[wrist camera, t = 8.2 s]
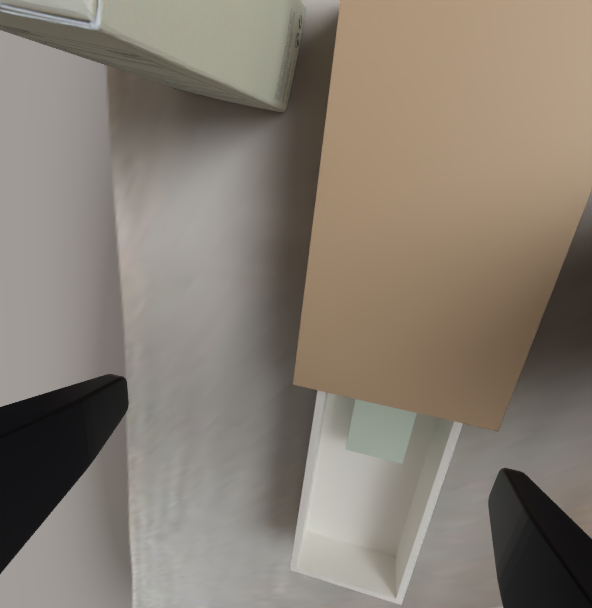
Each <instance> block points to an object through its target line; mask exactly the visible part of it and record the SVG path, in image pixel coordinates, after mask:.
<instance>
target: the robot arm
mask: <svg viewBox="0 0 592 608" xmlns="http://www.w3.org/2000/svg"><path fill="white" fill-rule="evenodd" d="M128 403H129V402H128V389H127V381H126V379H125V378H124V377H122V376H118V375H114V374H108V375H104V376H100V377H97V378H94V379H91V380H87V381H84V382H81V383H78V384H74V385H71V386H68V387H64V388H61V389H58V390H55V391H51V392H48V393H45V394H42V395H39V396H35V397H32V398H29V399H25V400H22V401H19V402H15V403H12V404H9V405H6V406H3V407H0V574H1V572H2V571H3V570H4V569H5V568H6V566H7V565H8V564H9V563H10V562H11V560H12V559H13V558H14V557H15V555H16V554H17V553H18V552H19V551H20V549H21V548H22V547H23V546H24V544H25V543H26V542H27V541H28V540H29V539H30V537H31V536H32V535H33V534H34V533H35V531H36V530H37V529H38V528H39V527H40V525H41V524H42V523H43V522H44V520H45V519H46V518H47V517H48V516H49V514H50V513H51V512H52V511H53V509H54V508H55V507H56V506H57V505H58V503H59V502H60V501H61V500H62V499H63V498H64V496H65V495H66V494H67V493H68V491H69V490H70V489H71V488H72V487H73V485H74V484H75V483H76V482H77V481H78V479H79V478H80V477H81V476H82V475H83V473H84V472H85V471H86V470H87V468H88V467H89V466H90V464H91V463H92V462H93V460H94V459H95V458H96V456H97V455H98V453H99V452H100V450H101V449H102V447H103V446H104V444H105V443H106V441H107V440H108V439H109V437H110V436H111V434H112V433H113V431H114V430H115V428H116V427H117V425H118V424H119V422H120V421H121V419H122V418H123V416H124V415H125V413H126V411H127V409H128ZM488 507H489V515H490V524H491V532H492V540H493V548H494V557H495V565H496V572H497V579H498V585H499V590H500V595H501V599H502V604H503V608H592V539H591V538H590V537H589V536H588V535H587V534H586V533H585V532H584V531H583V530H582V529H581V528H580V527H579V526H578V525H577V524H576V523H575V522H574V521H573V520H572V519H571V518H570V517H569V516H568V515H567V514H566V513H565V512H563V511H562V510H561V509H560V508H559V507H558V506H557V505H556V504H555V503H554V502H553V501H552V500H551V499H550V498H549V497H548V496H547V495H546V494H545V493H544V492H543V491H542V490H541V489H540V488H539V487H538V486H537V485H536V484H535V483H534V482H533V481H532V480H531V479H530V478H529V477H528V476H527V475H525V474H524V473H523V472H520V471H516V470H512V469H508V468H502V469H501V470H500V471H499V473H498V475H497V478H496V480H495V483H494V485H493V488H492V490H491V493H490V495H489V501H488Z"/></svg>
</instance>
